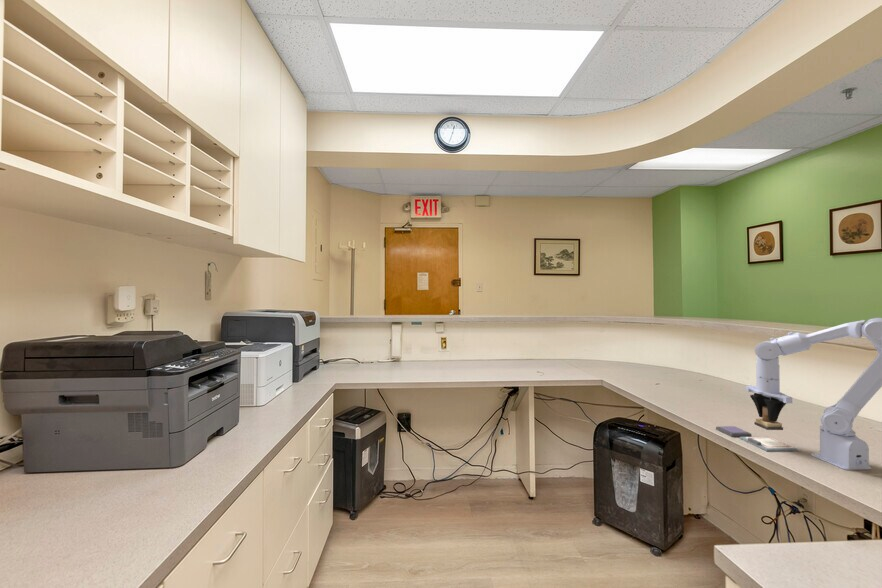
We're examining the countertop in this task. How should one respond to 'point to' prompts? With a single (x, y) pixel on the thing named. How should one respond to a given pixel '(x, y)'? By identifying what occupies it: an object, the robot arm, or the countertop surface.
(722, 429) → the ink pad
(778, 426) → the stamp
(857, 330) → the robot arm
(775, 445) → the clipboard
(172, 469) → the countertop surface
